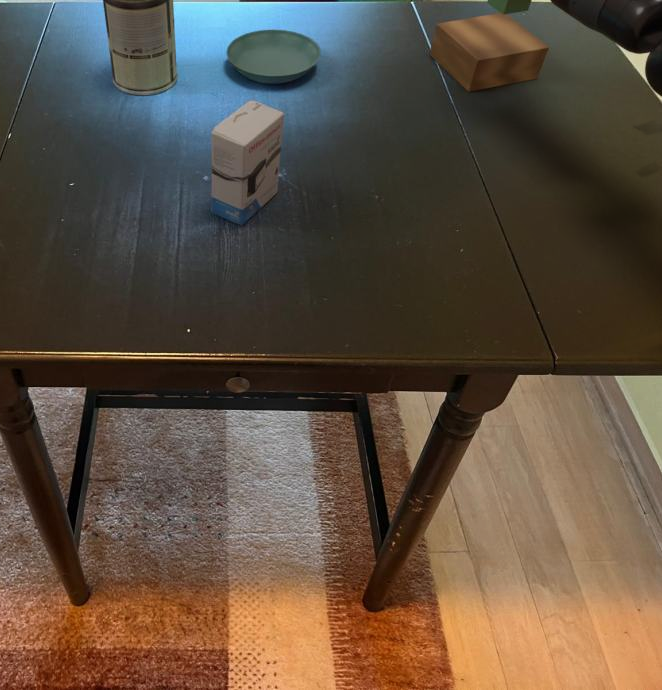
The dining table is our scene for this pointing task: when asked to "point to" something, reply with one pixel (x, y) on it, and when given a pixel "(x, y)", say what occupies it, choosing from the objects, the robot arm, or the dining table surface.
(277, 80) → the saucer
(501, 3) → the toy tower
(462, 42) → the wooden block
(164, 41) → the coffee can
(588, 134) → the dining table surface
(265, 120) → the ink box
